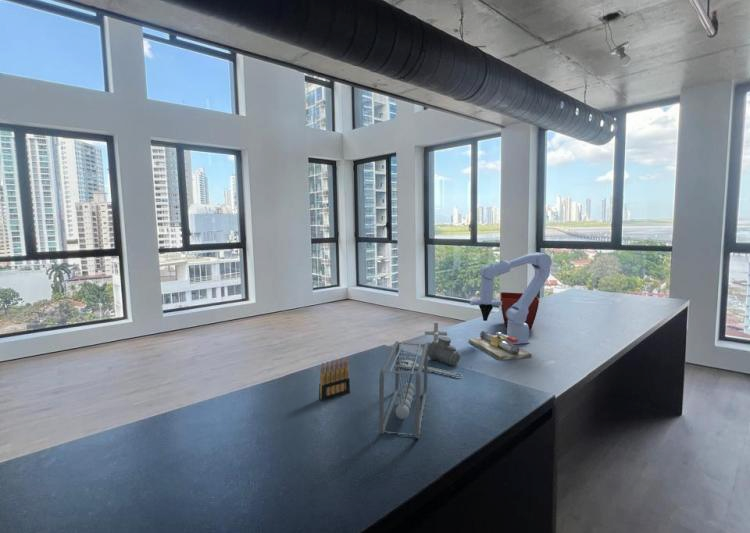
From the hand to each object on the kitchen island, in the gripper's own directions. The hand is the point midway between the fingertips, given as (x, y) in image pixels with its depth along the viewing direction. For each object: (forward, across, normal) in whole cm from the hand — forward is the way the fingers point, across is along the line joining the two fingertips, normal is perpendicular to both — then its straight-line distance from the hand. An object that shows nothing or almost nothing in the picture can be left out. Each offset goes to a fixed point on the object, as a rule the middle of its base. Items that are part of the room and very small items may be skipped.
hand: (484, 320), depth 190 cm
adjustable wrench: (+12, -33, -37) cm, 51 cm away
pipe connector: (+11, -23, -2) cm, 26 cm away
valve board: (+10, +3, -11) cm, 15 cm away
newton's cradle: (+12, -46, -70) cm, 85 cm away
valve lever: (+4, +4, -16) cm, 17 cm away
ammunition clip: (+12, -68, -57) cm, 89 cm away
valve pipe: (+10, +3, -11) cm, 15 cm away
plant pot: (+10, +28, +29) cm, 41 cm away
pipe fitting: (+11, -25, -27) cm, 39 cm away
